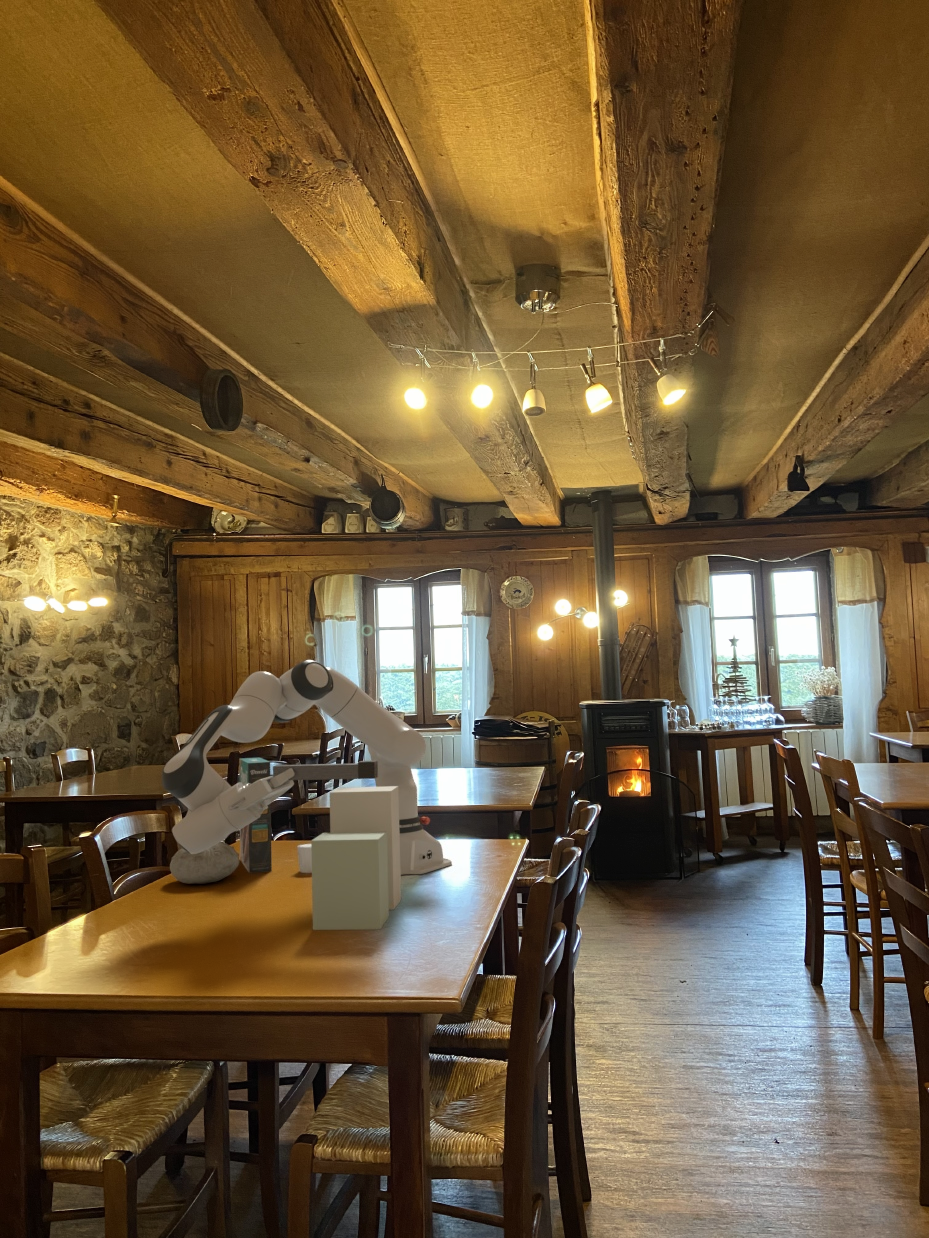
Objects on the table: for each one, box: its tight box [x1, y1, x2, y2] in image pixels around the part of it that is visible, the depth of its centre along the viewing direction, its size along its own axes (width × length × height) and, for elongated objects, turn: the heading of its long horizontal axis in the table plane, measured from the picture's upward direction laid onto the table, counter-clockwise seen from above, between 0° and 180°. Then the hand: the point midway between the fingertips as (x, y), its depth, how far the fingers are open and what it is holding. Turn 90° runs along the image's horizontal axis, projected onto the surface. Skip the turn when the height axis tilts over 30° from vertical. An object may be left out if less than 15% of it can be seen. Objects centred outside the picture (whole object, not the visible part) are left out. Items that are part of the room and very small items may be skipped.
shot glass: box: [296, 842, 312, 874], centre depth 241 cm, size 7×7×7 cm
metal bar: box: [272, 760, 378, 781], centre depth 187 cm, size 22×4×4 cm, turn 85°
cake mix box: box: [238, 757, 273, 874], centre depth 253 cm, size 22×6×30 cm, turn 21°
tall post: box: [329, 786, 402, 911], centre depth 201 cm, size 14×10×26 cm
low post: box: [311, 832, 390, 931], centre depth 184 cm, size 14×10×18 cm
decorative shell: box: [169, 841, 241, 885], centre depth 232 cm, size 18×18×10 cm
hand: (296, 770), depth 188 cm, fingers closed on metal bar, 3 cm apart
